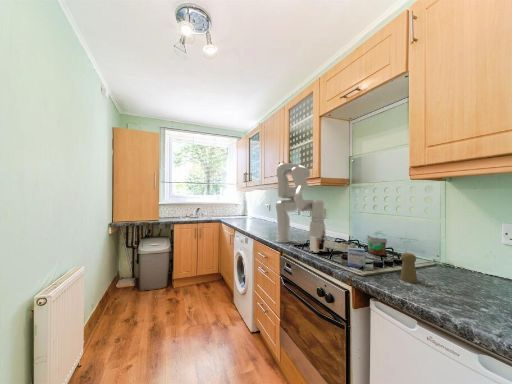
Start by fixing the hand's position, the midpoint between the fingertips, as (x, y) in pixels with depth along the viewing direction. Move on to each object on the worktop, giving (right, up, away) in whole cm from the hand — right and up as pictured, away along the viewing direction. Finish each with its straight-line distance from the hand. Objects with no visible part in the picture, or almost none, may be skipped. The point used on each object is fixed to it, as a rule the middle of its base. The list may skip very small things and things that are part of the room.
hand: (317, 248), depth 141 cm
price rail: (+12, -2, +6) cm, 14 cm away
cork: (+25, -1, -49) cm, 54 cm away
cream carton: (0, -2, 0) cm, 2 cm away
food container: (+32, -2, -7) cm, 33 cm away
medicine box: (+11, -2, -30) cm, 32 cm away
